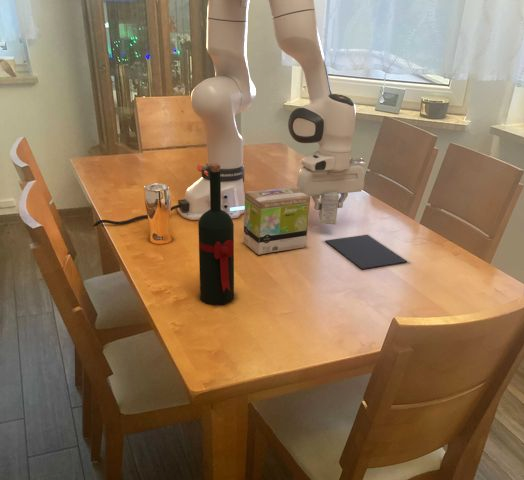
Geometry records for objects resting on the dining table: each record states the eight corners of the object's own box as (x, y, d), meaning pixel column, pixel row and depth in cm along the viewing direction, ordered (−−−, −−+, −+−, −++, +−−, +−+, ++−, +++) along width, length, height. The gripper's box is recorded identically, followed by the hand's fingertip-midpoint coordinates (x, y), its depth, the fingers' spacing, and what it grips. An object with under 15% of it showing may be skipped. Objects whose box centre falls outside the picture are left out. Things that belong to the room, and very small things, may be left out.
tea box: (259, 256, 146) (260, 202, 138) (242, 243, 153) (243, 191, 145) (306, 247, 152) (311, 195, 144) (289, 235, 159) (292, 184, 151)
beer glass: (177, 237, 155) (174, 184, 147) (166, 246, 150) (162, 192, 142) (155, 233, 157) (151, 181, 149) (143, 242, 152) (138, 188, 143)
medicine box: (335, 224, 157) (339, 195, 152) (320, 223, 157) (323, 194, 152) (333, 215, 163) (337, 186, 158) (318, 214, 163) (321, 185, 158)
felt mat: (361, 270, 141) (362, 268, 141) (325, 241, 156) (325, 240, 156) (406, 262, 145) (407, 261, 145) (367, 236, 161) (367, 234, 161)
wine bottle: (210, 312, 120) (207, 174, 103) (195, 292, 127) (189, 161, 111) (243, 306, 123) (245, 171, 106) (226, 287, 130) (225, 158, 114)
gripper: (360, 154, 156) (353, 201, 164) (296, 158, 149) (292, 207, 157) (372, 160, 152) (364, 208, 159) (306, 165, 145) (301, 215, 152)
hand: (328, 208), depth 158 cm, fingers closed on medicine box, 5 cm apart
